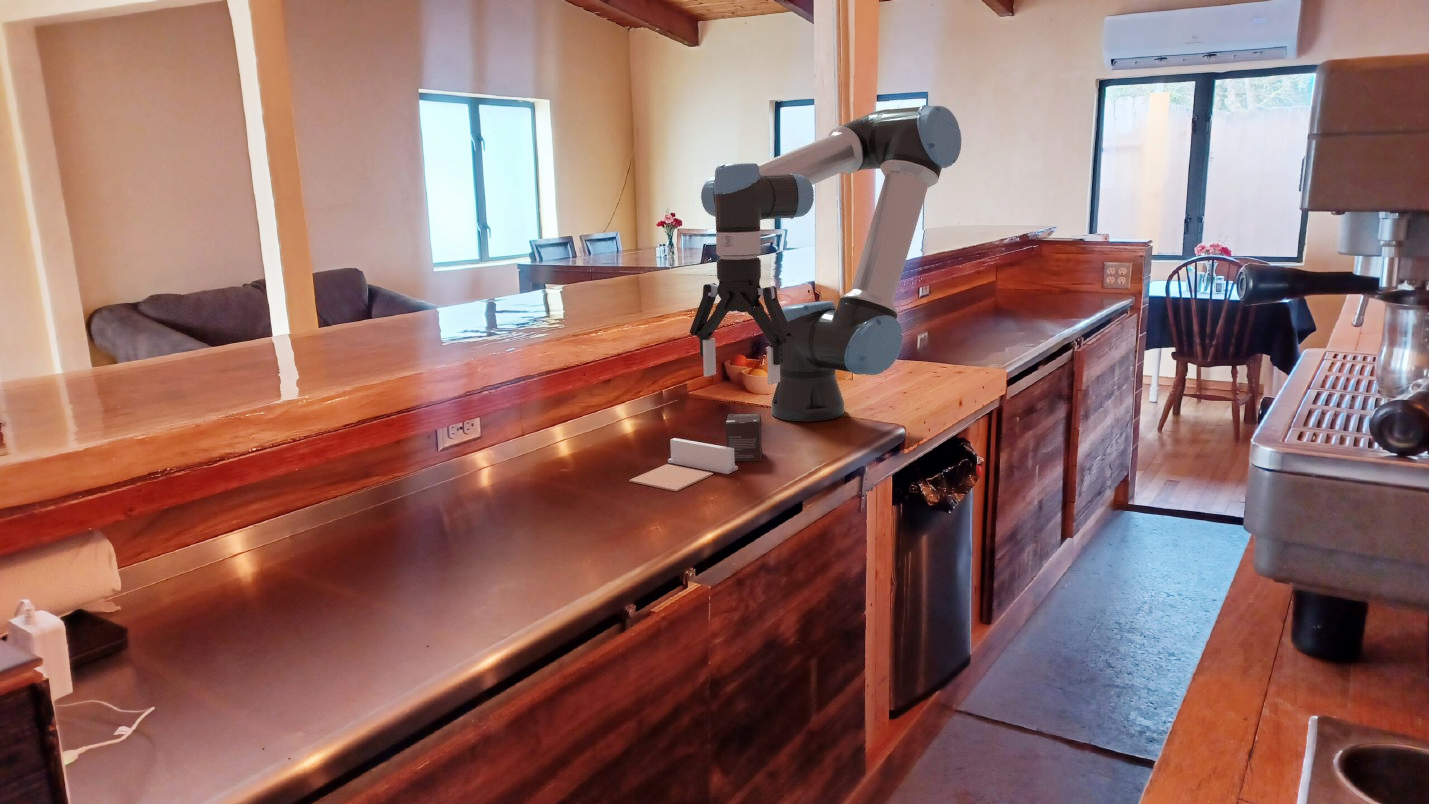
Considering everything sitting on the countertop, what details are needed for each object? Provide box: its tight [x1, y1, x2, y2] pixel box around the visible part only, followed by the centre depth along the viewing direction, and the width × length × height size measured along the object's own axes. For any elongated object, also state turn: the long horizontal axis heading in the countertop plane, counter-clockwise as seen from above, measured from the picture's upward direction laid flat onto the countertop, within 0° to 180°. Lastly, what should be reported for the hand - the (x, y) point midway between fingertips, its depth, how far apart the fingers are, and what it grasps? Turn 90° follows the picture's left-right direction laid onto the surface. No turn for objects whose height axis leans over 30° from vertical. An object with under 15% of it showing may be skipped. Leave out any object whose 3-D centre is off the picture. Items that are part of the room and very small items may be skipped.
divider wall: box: [667, 437, 739, 475], centre depth 164 cm, size 3×13×4 cm, turn 54°
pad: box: [628, 463, 714, 492], centre depth 159 cm, size 10×10×1 cm
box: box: [725, 413, 763, 462], centre depth 168 cm, size 6×6×7 cm
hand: (741, 379), depth 165 cm, fingers open, 13 cm apart
